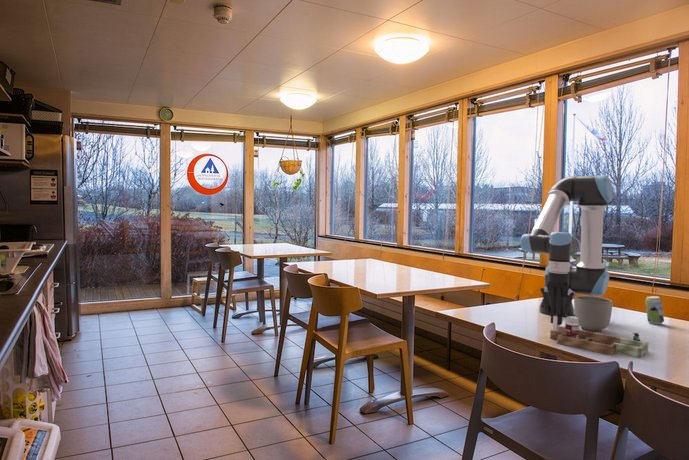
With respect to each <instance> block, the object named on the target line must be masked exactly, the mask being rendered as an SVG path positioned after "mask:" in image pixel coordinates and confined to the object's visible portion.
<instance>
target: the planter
mask: <svg viewBox="0 0 689 460" xmlns="http://www.w3.org/2000/svg"><path fill="white" fill-rule="evenodd" d="M573 299H574V300H573V303H574V304H573V307H574V317H577V318H578V323H579V327H580V328H581V330H583V331H588V332H594V333H601V332H602V331H603V330H604V329H607V328H608V326H609V325H610V322H611V317H612V314H613V313H612V311H613V301H612V300H611V299H609V298H605V297H602V296H591V295H575V296H574V297H573Z"/></svg>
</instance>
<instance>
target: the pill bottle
mask: <svg viewBox="0 0 689 460" xmlns="http://www.w3.org/2000/svg"><path fill="white" fill-rule="evenodd" d="M565 319H566V321H565V322H564V324H565V325H564V327H565V333H567V334H566V336H567V337H572V338H576V339H579V338H578V336H579V330H580V326H579V323H578V318H577V317H575V316H566V318H565Z"/></svg>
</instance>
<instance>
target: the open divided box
mask: <svg viewBox="0 0 689 460" xmlns="http://www.w3.org/2000/svg"><path fill="white" fill-rule="evenodd" d="M566 334H567V333H565V326H563V325H562V326H561V325H559V331H554V330H553V329H550V335H549V338H550V339H552V340H557V344H558V345H562V346H568V347H573V348H577V349H582V350H585V351H591V352H596V353H600V354H605V355H610V356H613V355H614V354H615V353H617V354H622V355H626V356H627V355H628V356H632V357H637V358H642V357H643V356H644V355H645V354H647V353H648V352H649V342H646V341H645V342H644V341H641V340H640V341H636V340H634V339H629V338H625V337H620V336H619V337H618V336H616V335H615V336H614V335H608V334H603V333H600V332H598V333H595V332H588V331H584V330H582V329H579V336H578V339H576V338H572V337H567V336H566Z"/></svg>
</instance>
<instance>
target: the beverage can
mask: <svg viewBox="0 0 689 460" xmlns="http://www.w3.org/2000/svg"><path fill="white" fill-rule="evenodd" d="M644 301H645V309H646V310H645V311H646V317H647V318H646V320H647V322H648V323H649V324H653V325H662V324H663V323H664V322H665V317H664V310H663V308H664V307H663V302H662V298H661V297H660V296H657V295H656V296H653V295H651V296H646V298H645V300H644Z"/></svg>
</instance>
